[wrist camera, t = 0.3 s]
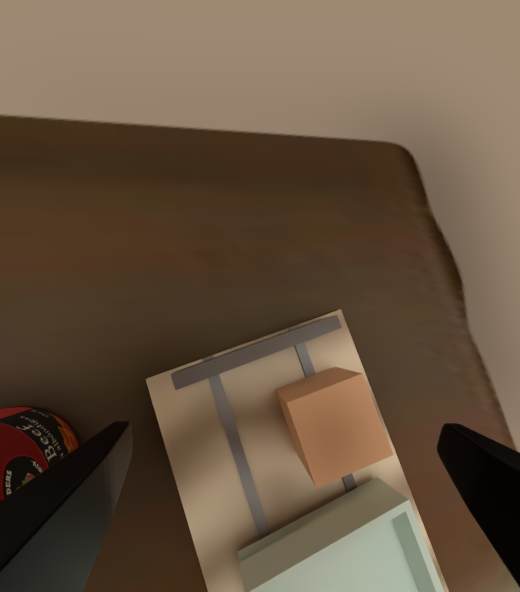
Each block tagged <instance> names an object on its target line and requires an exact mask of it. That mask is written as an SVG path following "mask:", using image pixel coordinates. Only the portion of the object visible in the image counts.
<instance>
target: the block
mask: <svg viewBox="0 0 520 592" xmlns="http://www.w3.org/2000/svg"><path fill="white" fill-rule="evenodd" d="M275 390H276V393H277V396H278V399H279V402H280V405H281V408H282V411H283V414H284V417H285V419H286V422H287V425H288V428H289V431H290V434H291V437H292V440H293V443H294V446H295V448H296V451H297V454H298V456H299V458H300V460H301V462H302V464H303V465H304V467H305V469H306V471H307V473H308V474H309V476H310V478H311V480H312V481H313V483H314V485H315V487H316V489H317V488H319V487H321V486H324V485H326V484H328V483H330V482H333V481H335V480H337V479H340V478H342V477H344V476H346V475H349V474H351V473H353V472H356V471H358V470H360V469H362V468H365V467H367V466H369V465H372V464H374V463H376V462H378V461H381V460H383V459H385V458H388V457H390V456H392V455H393V452H392V450H391V447H390V444H389V442H388V439H387V436H386V434H385V431H384V429H383V426H382V423H381V421H380V418H379V415H378V413H377V410H376V408H375V405H374V402H373V400H372V397H371V395H370V392H369V389H368V387H367V384H366V381H365V379H364V376H363V374H362V373H359V372H355V371H351V370H347V369H343V368H339V367H333V368H330V369H327V370H325V371H322V372H319V373H317V374H314V375H312V376H309V377H306V378H304V379H301V380H299V381H296V382H293V383H291V384H288V385H285V386H283V387H280V388H278V389H275Z"/></svg>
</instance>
